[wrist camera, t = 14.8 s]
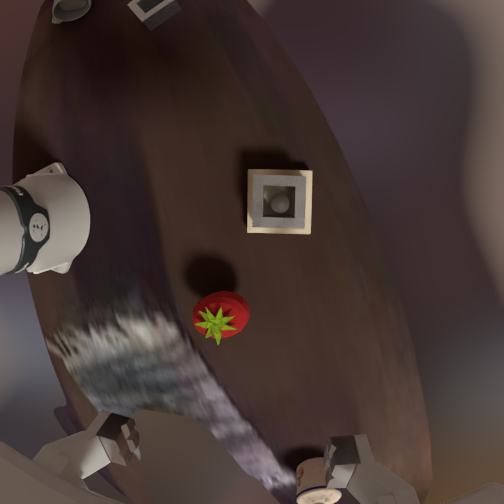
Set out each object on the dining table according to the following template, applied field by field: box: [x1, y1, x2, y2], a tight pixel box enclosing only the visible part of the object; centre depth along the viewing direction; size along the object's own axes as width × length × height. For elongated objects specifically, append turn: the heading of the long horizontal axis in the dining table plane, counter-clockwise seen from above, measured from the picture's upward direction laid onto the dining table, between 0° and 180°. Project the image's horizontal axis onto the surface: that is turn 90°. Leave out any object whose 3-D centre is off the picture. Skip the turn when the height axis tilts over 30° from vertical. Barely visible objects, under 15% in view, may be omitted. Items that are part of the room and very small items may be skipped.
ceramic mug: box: [52, 0, 91, 24], centre depth 29 cm, size 11×8×8 cm
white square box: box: [127, 0, 182, 31], centre depth 31 cm, size 6×6×4 cm
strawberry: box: [193, 291, 250, 345], centre depth 37 cm, size 6×8×10 cm
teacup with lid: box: [296, 457, 342, 504], centre depth 44 cm, size 12×9×12 cm
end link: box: [252, 175, 306, 229], centre depth 35 cm, size 6×6×4 cm
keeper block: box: [247, 169, 312, 234], centre depth 35 cm, size 8×8×7 cm
